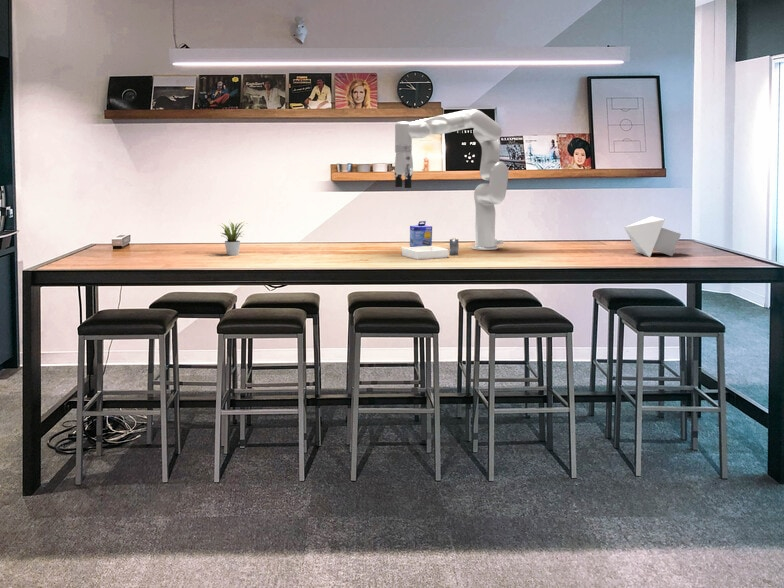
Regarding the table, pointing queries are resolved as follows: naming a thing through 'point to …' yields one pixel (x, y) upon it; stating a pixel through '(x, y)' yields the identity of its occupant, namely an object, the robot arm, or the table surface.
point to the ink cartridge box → (420, 235)
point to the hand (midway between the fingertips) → (403, 187)
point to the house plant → (232, 239)
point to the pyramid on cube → (652, 236)
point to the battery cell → (453, 246)
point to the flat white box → (425, 252)
